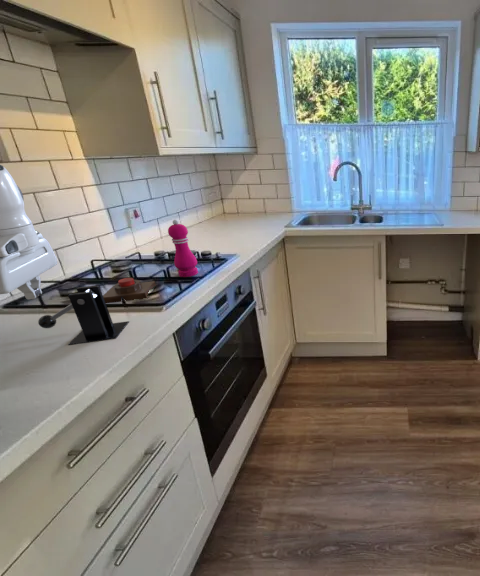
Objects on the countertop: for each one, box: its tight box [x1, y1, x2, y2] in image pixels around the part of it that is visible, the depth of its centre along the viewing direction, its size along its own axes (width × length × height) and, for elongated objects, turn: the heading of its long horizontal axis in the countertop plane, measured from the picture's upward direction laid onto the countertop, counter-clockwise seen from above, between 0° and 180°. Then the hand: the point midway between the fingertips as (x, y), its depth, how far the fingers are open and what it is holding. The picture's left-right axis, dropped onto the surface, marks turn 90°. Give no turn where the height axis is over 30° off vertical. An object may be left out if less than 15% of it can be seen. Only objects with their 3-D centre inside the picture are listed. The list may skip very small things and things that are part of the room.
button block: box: [102, 279, 157, 304], centre depth 114 cm, size 12×10×4 cm
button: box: [117, 277, 135, 287], centre depth 113 cm, size 4×4×2 cm
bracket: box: [67, 284, 130, 346], centre depth 89 cm, size 10×9×13 cm
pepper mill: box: [167, 219, 199, 278], centre depth 127 cm, size 7×7×20 cm
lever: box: [37, 289, 97, 329], centre depth 87 cm, size 14×3×3 cm, turn 104°
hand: (34, 296), depth 84 cm, fingers closed
